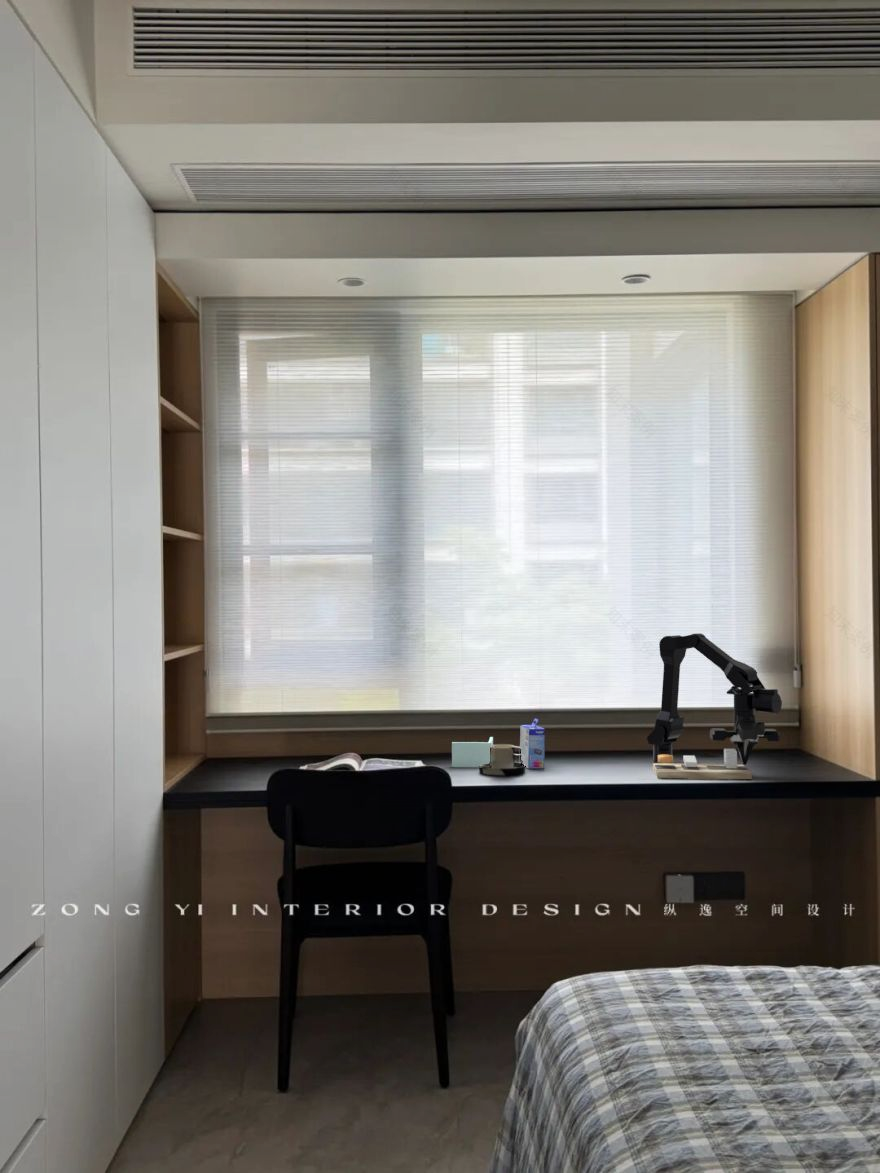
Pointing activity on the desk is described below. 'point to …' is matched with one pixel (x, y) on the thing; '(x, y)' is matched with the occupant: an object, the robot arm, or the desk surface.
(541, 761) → the ink cartridge box
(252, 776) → the desk surface
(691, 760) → the block
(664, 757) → the orange button
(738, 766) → the control panel
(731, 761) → the metal slider
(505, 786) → the desk surface
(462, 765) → the right angle wall
